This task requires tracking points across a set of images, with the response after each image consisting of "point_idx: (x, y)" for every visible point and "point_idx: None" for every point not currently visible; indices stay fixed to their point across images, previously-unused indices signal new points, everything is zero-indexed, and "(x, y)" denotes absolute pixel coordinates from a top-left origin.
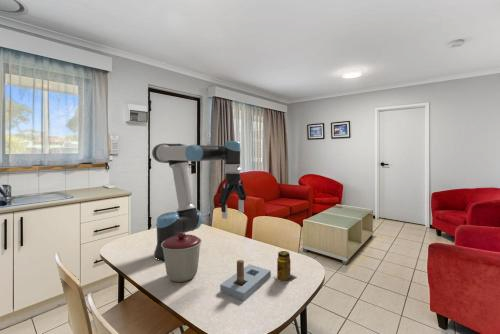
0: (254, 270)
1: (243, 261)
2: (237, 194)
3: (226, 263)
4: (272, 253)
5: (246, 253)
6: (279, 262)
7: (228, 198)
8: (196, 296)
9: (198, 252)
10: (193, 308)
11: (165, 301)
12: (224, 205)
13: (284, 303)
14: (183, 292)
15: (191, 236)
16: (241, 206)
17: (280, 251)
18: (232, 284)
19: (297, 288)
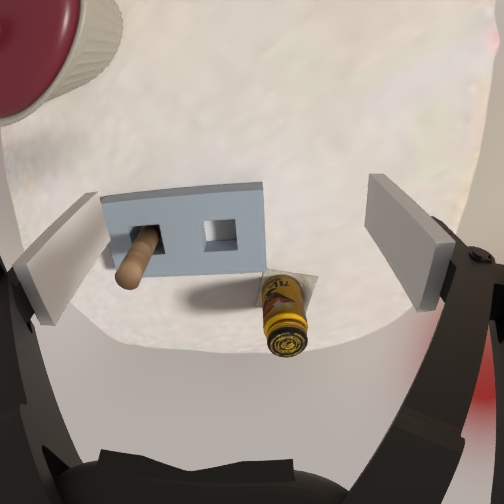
0: (236, 230)
1: (134, 287)
2: (434, 333)
3: (254, 75)
4: (426, 182)
5: (381, 90)
6: (264, 323)
7: (47, 386)
8: (53, 166)
9: (65, 86)
10: (32, 199)
11: (3, 130)
12: (26, 309)
13: (183, 331)
14: (40, 124)
15: (32, 28)
16: (390, 242)
17: (293, 334)
18: (122, 231)
19: (254, 330)
